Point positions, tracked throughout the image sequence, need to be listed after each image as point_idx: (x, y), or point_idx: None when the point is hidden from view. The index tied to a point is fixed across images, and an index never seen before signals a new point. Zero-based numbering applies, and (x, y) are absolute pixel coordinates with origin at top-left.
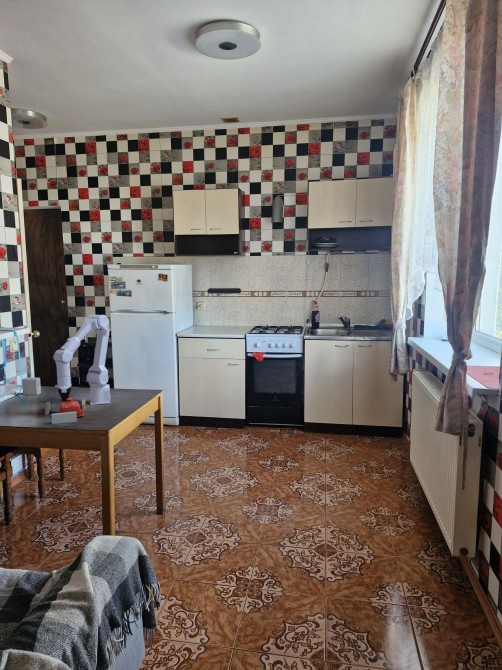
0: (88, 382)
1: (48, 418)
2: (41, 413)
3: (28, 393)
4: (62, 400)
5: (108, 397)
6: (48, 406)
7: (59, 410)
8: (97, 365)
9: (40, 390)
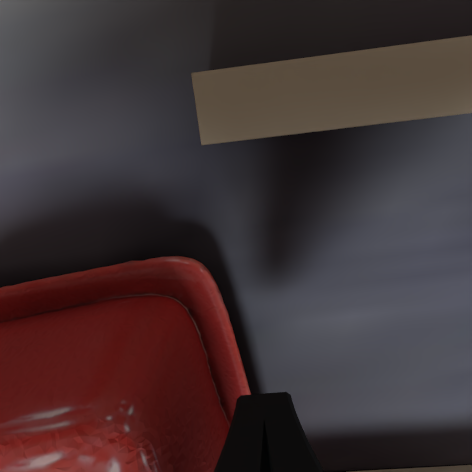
0: None
1: (9, 172)
2: (284, 6)
3: None
4: (219, 469)
5: None
6: (307, 127)
7: (17, 349)
8: None
9: None
